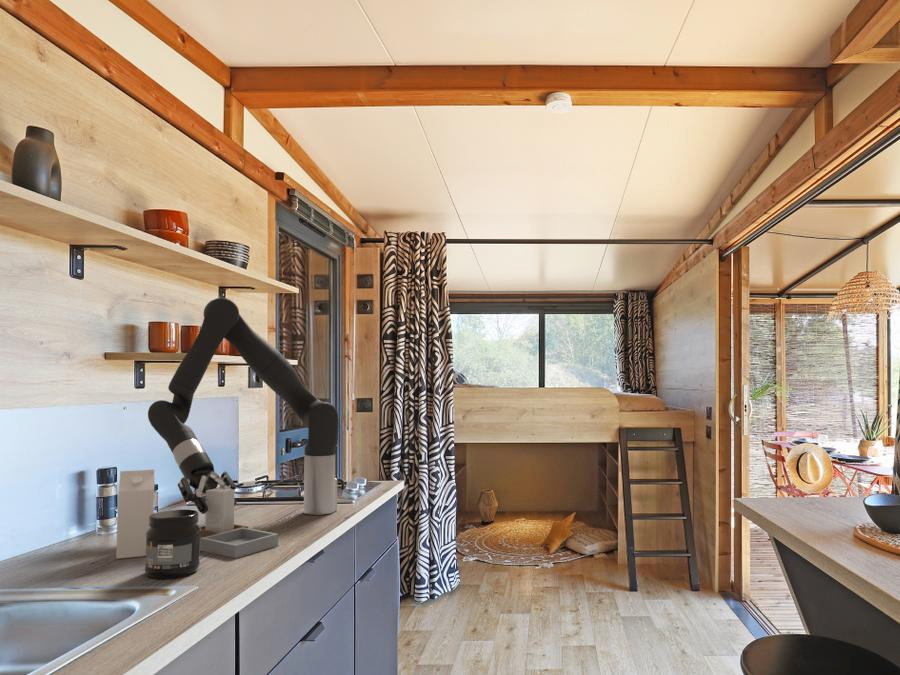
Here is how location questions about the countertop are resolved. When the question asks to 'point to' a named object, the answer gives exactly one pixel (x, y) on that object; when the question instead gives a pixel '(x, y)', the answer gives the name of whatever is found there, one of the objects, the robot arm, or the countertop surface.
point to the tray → (238, 542)
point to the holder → (208, 533)
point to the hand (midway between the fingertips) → (220, 508)
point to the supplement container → (172, 544)
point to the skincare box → (219, 510)
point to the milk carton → (134, 512)
